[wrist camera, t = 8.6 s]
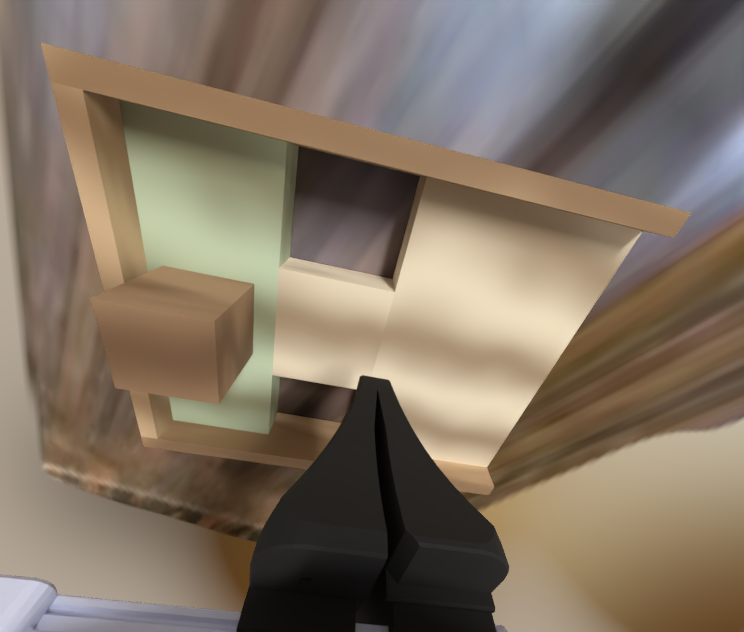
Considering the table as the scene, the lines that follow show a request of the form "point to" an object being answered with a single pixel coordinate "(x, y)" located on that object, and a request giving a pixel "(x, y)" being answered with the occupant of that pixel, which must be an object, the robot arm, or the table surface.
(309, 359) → the board
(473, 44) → the table surface
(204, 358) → the walnut block
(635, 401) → the table surface
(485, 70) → the table surface
